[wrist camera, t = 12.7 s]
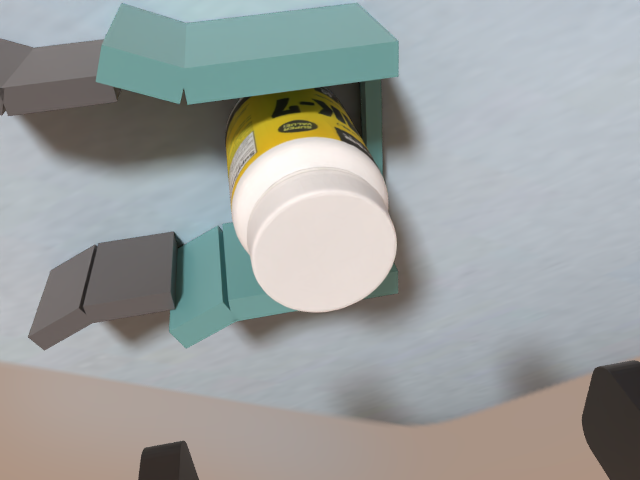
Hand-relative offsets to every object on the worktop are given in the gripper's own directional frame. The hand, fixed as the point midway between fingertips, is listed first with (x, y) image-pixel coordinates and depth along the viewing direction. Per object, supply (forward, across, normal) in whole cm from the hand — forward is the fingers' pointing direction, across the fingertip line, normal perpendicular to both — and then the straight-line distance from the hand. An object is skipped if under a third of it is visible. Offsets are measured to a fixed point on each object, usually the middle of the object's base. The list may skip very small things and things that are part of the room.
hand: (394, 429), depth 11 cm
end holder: (+14, +1, 0) cm, 14 cm away
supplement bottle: (+14, +1, 0) cm, 14 cm away
